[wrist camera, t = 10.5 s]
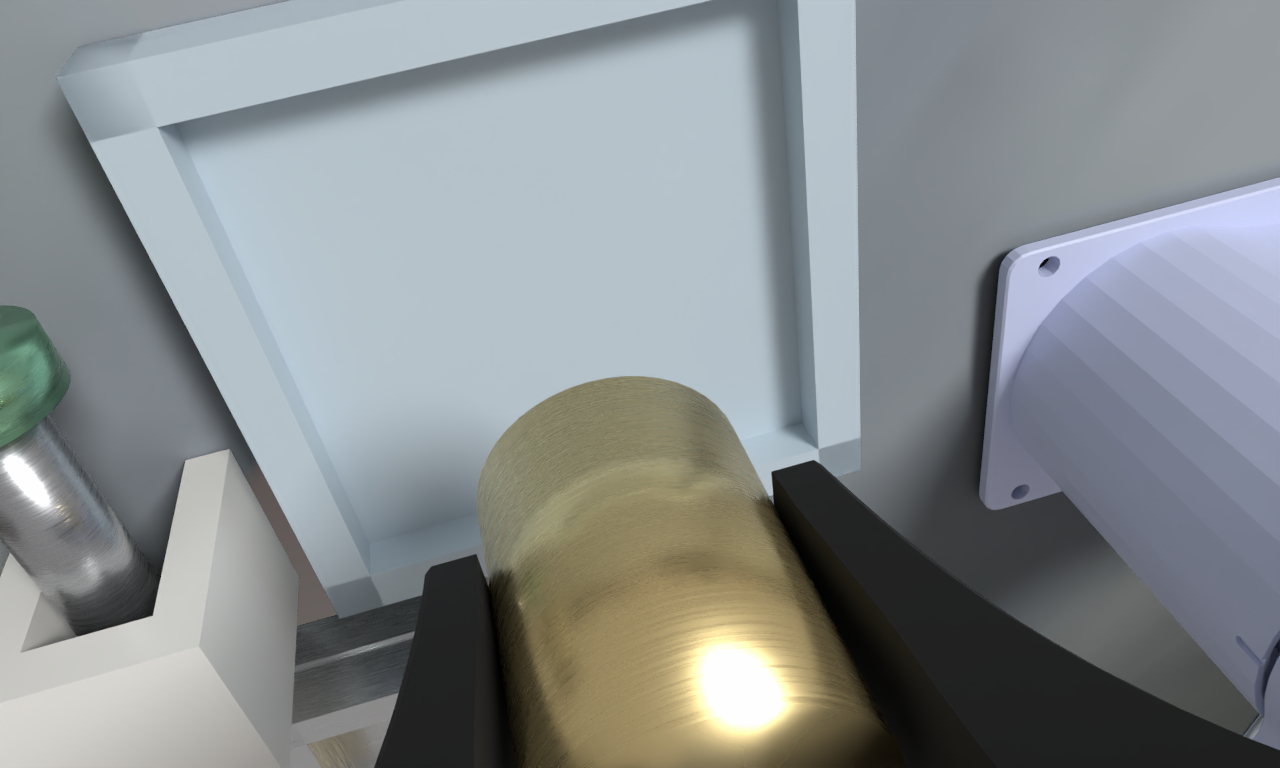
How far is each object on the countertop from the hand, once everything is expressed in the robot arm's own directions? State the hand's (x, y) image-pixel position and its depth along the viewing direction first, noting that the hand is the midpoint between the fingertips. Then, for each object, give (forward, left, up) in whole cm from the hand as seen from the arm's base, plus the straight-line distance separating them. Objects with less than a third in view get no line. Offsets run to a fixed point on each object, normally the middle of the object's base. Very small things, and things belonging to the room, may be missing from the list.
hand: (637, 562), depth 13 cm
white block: (+9, +4, -8) cm, 13 cm away
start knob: (+9, 0, -6) cm, 11 cm away
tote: (0, 0, -8) cm, 8 cm away
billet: (0, 0, -2) cm, 2 cm away
